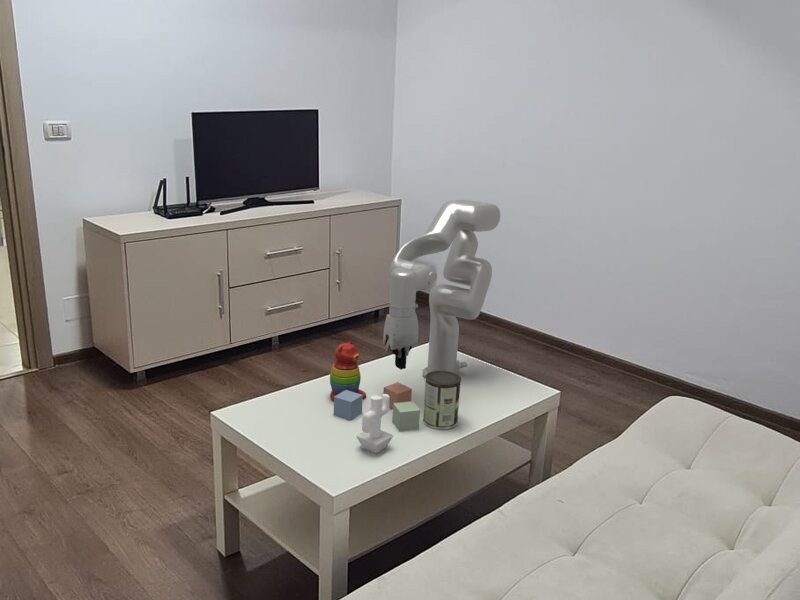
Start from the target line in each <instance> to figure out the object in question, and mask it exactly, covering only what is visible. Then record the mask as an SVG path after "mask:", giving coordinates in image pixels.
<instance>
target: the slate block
mask: <svg viewBox="0 0 800 600" xmlns="http://www.w3.org/2000/svg"><path fill="white" fill-rule="evenodd" d="M363 401H364V400H363V395H361V394H358V393H355V392H351V391H348V390H345V391H343V392H341V393H340V394H338V395H336V396H334V402H333V416H335V417H338V418H341V419H343V420H347V421H352V420H354V419H355V418H357V417H359V416H360V415H362V414H363Z"/></svg>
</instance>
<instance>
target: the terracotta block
mask: <svg viewBox="0 0 800 600" xmlns="http://www.w3.org/2000/svg"><path fill="white" fill-rule="evenodd" d="M412 390H413V389H412V388H411V387H409V386H407V385H405V384H404V383H403V384H402V383H401V382H399V381H397V382H394V383H391V384H388V385H385V386H383V394H387V395H389V397H390V402H389V410H392V411H393V403H401V402H411V401H412ZM383 394H382V395H383Z"/></svg>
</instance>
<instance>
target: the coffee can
mask: <svg viewBox="0 0 800 600" xmlns="http://www.w3.org/2000/svg"><path fill="white" fill-rule="evenodd" d="M424 379H425V381H424V382H425V383H424V399H423V401H424V402H423V416H422V417H423V418H422V422H423V424H424V425H425V426H426V427H429V428H431V429H436V430H450V429H453V428H455V427H456V426H458V423H459V422H458V418H459V417H458V416H459V407H460V406H459V404H460V395H461V394H460V392H461V382H462V377H461V375H460V376H459V375H458V374H456V373H453V372H449V371H432V372H429V373H427V374H426V376H425V377H424Z"/></svg>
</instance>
